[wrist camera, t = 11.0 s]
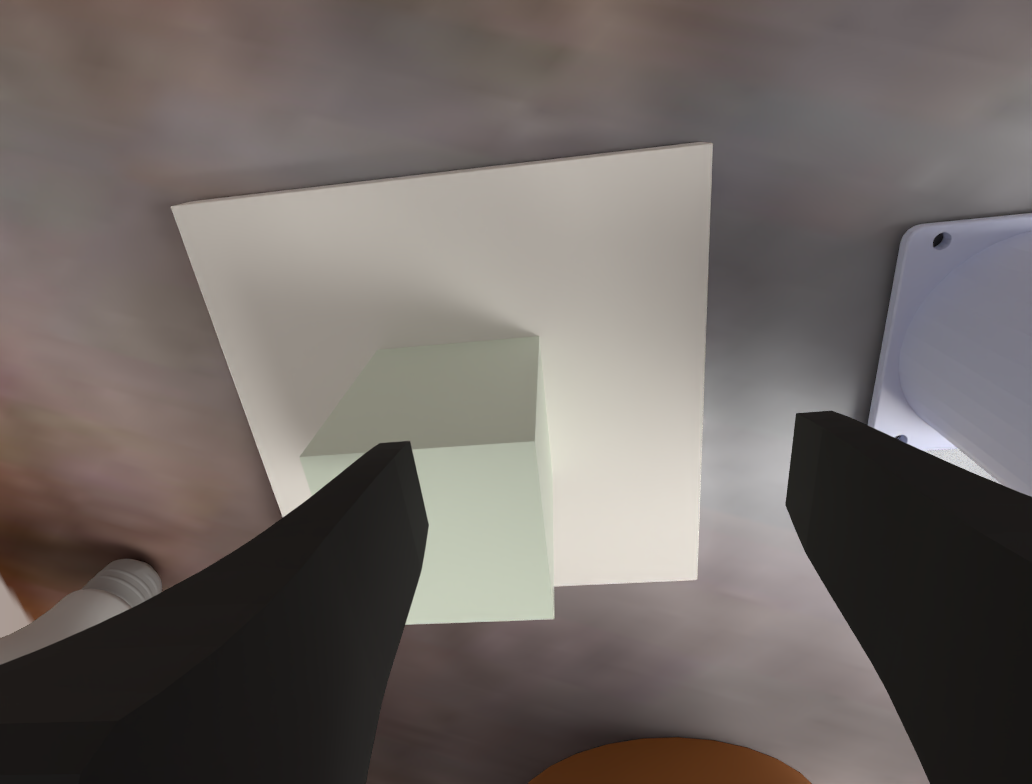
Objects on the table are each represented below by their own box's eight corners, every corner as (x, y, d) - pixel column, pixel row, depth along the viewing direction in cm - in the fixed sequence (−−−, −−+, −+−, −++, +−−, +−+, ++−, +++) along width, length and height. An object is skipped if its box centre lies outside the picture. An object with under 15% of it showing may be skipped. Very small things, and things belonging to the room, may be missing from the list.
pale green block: (539, 335, 18) (535, 441, 12) (552, 474, 21) (554, 619, 15) (377, 349, 19) (299, 456, 13) (408, 483, 21) (354, 626, 15)
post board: (702, 141, 17) (779, 154, 11) (690, 558, 24) (734, 695, 18) (192, 201, 18) (36, 238, 13) (321, 576, 25) (257, 708, 20)
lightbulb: (123, 625, 27) (-119, 916, 17) (47, 526, 25) (-287, 801, 15) (236, 607, 26) (48, 904, 16) (170, 501, 24) (-100, 778, 14)
